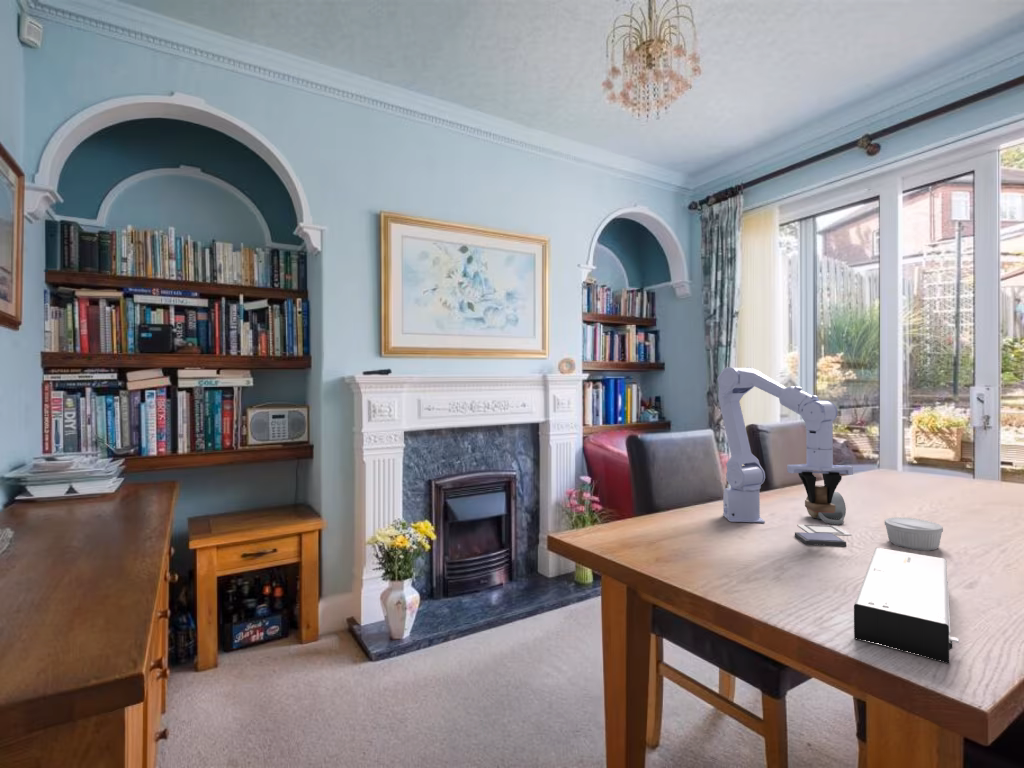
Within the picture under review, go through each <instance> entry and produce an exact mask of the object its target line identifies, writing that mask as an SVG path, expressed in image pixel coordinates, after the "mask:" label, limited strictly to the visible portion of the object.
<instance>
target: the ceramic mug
mask: <svg viewBox="0 0 1024 768" xmlns="http://www.w3.org/2000/svg"><path fill="white" fill-rule="evenodd" d="M805 500H808V496H807V495H806V499H805ZM831 503H832V504H834V505H835V512H834V513H824V512H813V511H811V510H809V509H808V508H806V511H807V513H808V515H809V516H810V517H811V518H812V519H816V520H817V519H818V520H821V521H823V522H825V523H826V524H830V525H834V526H837V525H841V524H843V523H844V520H845V516H846V514H847V513H846V512H847V507H846V503H845V500H844V497H843V496H842V494H841V493H840V492H837V491H835V492H834V494H833V497H832V501H831Z"/></svg>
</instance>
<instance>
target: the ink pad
mask: <svg viewBox="0 0 1024 768" xmlns="http://www.w3.org/2000/svg"><path fill="white" fill-rule="evenodd" d="M794 537H795V538H796V539H798V540H799V541H801V542H802V543H803V544H804V545H807V546H829V547H831V546H833V547H847V541H845V540H844V539H842V538H840V537H839V536H838V535H834V534H832V533H808V532H800V531H798V532H794Z"/></svg>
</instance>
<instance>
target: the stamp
mask: <svg viewBox="0 0 1024 768" xmlns="http://www.w3.org/2000/svg"><path fill="white" fill-rule="evenodd" d="M804 506H805V508H806V509H807V508H808V509H809V510H811V511H813V512H824V513H834V512H835V505H834V504H832V503H827V487H826V486H824V485H822V484H821V485H820V484H815V503H811V502H809V501H808V500H806V499H804Z"/></svg>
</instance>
